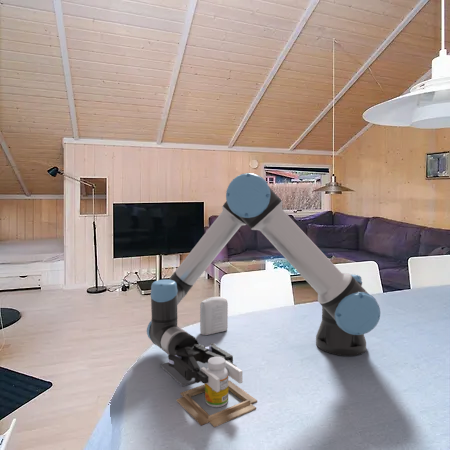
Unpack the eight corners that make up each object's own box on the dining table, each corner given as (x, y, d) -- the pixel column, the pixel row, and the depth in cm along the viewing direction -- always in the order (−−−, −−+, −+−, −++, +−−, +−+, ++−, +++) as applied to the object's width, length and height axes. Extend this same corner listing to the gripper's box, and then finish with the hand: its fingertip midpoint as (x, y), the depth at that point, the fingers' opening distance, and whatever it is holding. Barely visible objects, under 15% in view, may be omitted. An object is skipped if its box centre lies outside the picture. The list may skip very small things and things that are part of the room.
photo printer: (222, 327, 128) (222, 293, 127) (229, 330, 124) (229, 296, 123) (198, 333, 122) (198, 298, 121) (204, 336, 118) (204, 301, 118)
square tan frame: (224, 378, 91) (224, 374, 91) (262, 405, 78) (262, 401, 78) (172, 396, 82) (172, 392, 82) (206, 430, 70) (206, 426, 70)
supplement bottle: (204, 395, 83) (204, 355, 82) (227, 394, 83) (227, 354, 82) (205, 408, 77) (205, 366, 77) (229, 407, 78) (229, 365, 77)
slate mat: (200, 354, 105) (200, 352, 105) (225, 371, 94) (225, 369, 94) (160, 366, 97) (160, 364, 97) (182, 386, 87) (182, 384, 87)
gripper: (208, 350, 100) (262, 385, 81) (148, 368, 89) (193, 412, 70) (208, 324, 99) (262, 353, 80) (147, 339, 89) (192, 376, 70)
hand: (229, 381), depth 75 cm, fingers closed on supplement bottle, 5 cm apart
